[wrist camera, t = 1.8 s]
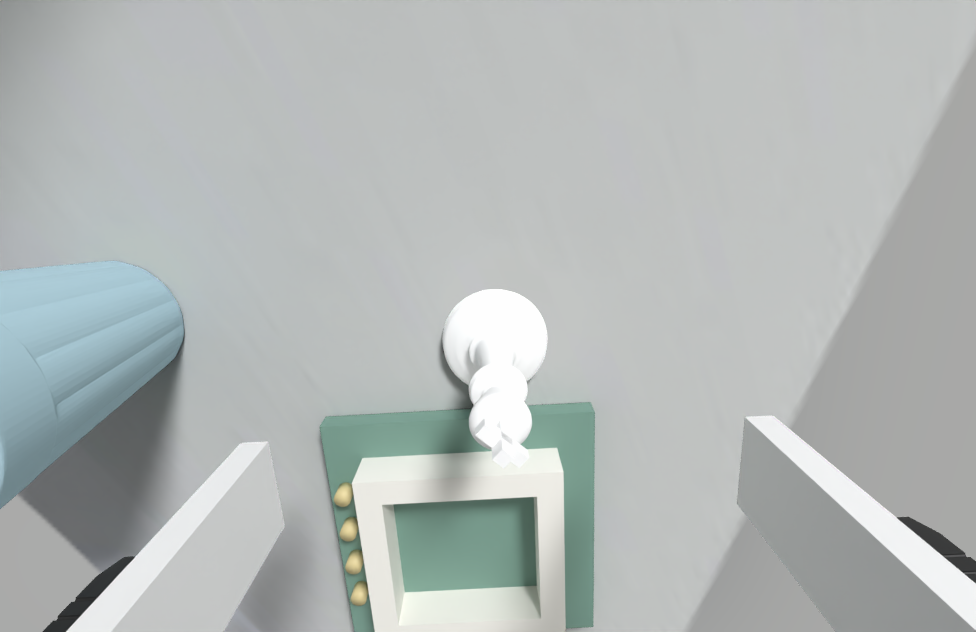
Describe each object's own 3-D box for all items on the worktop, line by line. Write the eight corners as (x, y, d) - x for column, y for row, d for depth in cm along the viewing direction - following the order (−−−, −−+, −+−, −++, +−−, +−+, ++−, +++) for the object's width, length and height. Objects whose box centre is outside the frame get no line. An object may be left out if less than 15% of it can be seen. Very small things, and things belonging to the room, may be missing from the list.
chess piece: (500, 406, 24) (511, 561, 15) (421, 345, 23) (378, 468, 14) (568, 333, 23) (628, 449, 14) (488, 267, 22) (493, 340, 13)
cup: (237, 373, 24) (53, 521, 14) (91, 412, 24) (-188, 582, 14) (166, 217, 22) (-111, 256, 12) (9, 264, 22) (-386, 340, 12)
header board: (326, 416, 24) (304, 449, 21) (590, 402, 24) (604, 433, 21) (360, 622, 28) (345, 674, 25) (589, 611, 28) (601, 661, 25)
